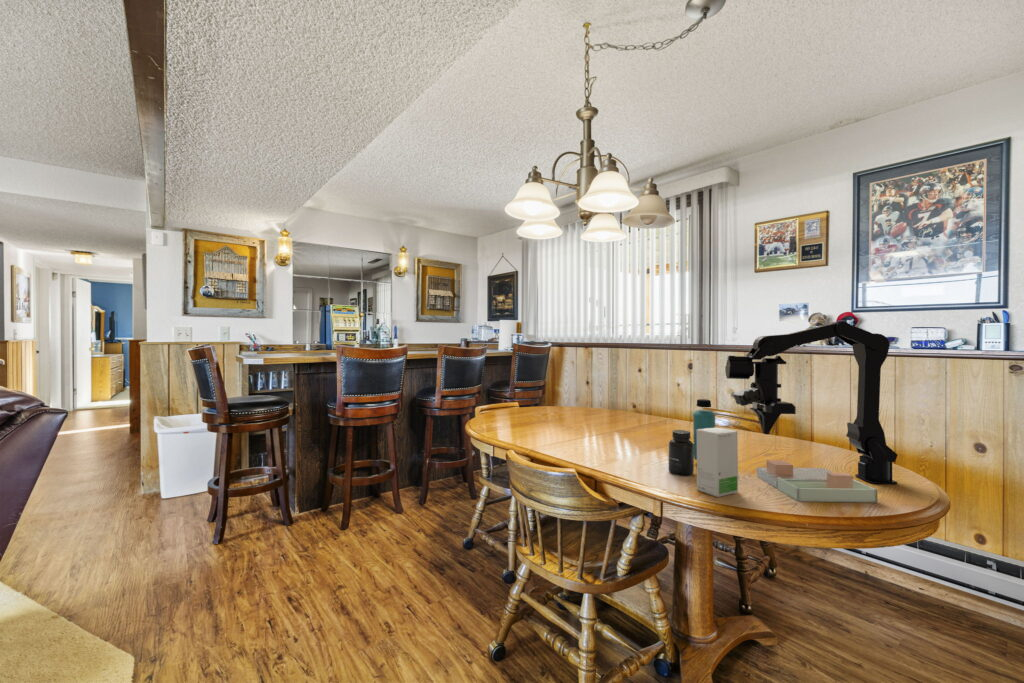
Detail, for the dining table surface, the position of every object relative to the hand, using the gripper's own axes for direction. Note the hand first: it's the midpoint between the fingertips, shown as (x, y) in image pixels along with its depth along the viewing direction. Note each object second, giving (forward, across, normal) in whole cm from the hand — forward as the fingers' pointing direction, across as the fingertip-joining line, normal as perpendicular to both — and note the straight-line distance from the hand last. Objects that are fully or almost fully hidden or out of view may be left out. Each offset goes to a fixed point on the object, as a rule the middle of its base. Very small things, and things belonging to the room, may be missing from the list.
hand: (765, 434), depth 124 cm
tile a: (+8, +15, +9) cm, 20 cm away
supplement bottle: (+12, 0, -24) cm, 27 cm away
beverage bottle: (+12, -9, -14) cm, 20 cm away
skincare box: (+12, +15, -20) cm, 28 cm away
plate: (+11, +8, +5) cm, 15 cm away
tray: (+11, +18, +5) cm, 22 cm away
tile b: (+9, +7, 0) cm, 11 cm away
